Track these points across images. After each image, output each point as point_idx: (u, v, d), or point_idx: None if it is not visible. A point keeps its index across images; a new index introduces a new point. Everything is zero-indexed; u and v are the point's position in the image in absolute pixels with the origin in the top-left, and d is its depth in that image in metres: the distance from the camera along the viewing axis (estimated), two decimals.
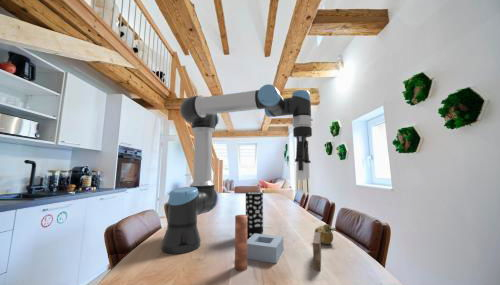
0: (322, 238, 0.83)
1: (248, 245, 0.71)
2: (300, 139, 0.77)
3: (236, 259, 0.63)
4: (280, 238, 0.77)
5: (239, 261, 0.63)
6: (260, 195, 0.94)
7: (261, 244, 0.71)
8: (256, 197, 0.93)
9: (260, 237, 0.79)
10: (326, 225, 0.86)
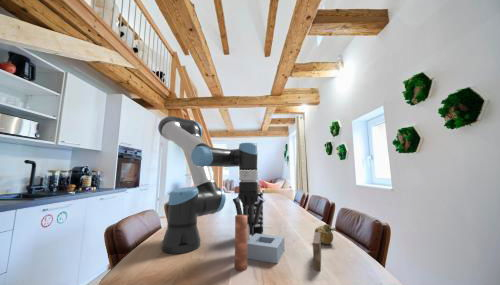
0: (322, 238, 0.83)
1: (249, 245, 0.71)
2: None
3: (236, 259, 0.63)
4: (281, 238, 0.77)
5: (239, 261, 0.63)
6: (260, 195, 0.94)
7: (262, 244, 0.71)
8: None
9: (261, 237, 0.79)
10: (326, 225, 0.86)
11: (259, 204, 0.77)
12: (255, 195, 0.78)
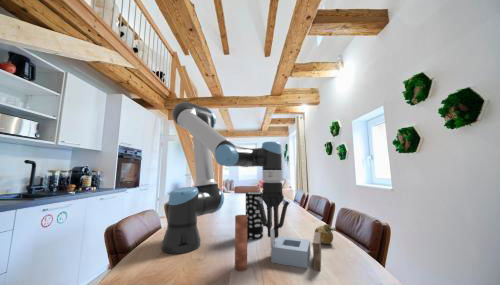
0: (322, 238, 0.83)
1: (276, 249, 0.68)
2: (258, 203, 0.78)
3: (236, 259, 0.63)
4: (307, 241, 0.74)
5: (239, 261, 0.63)
6: (260, 195, 0.94)
7: (290, 248, 0.68)
8: (256, 197, 0.93)
9: (286, 240, 0.76)
10: (326, 225, 0.86)
11: (285, 206, 0.73)
12: (280, 196, 0.74)
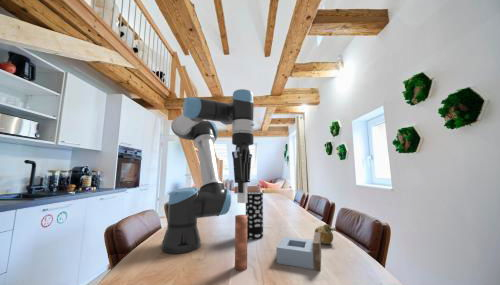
0: (322, 238, 0.83)
1: (281, 249, 0.67)
2: (236, 156, 0.64)
3: (236, 259, 0.63)
4: None
5: (239, 261, 0.63)
6: (260, 195, 0.94)
7: (296, 248, 0.67)
8: (256, 197, 0.93)
9: (291, 241, 0.75)
10: (326, 225, 0.86)
11: (250, 158, 0.74)
12: (248, 149, 0.73)
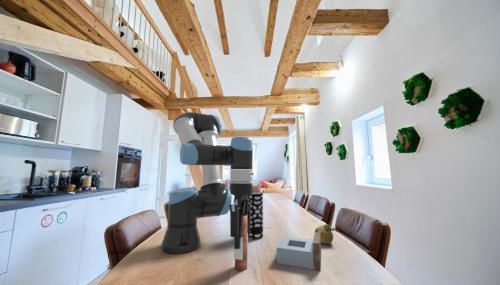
0: (322, 238, 0.83)
1: (281, 249, 0.67)
2: (233, 209, 0.61)
3: (236, 259, 0.63)
4: None
5: (239, 260, 0.63)
6: (260, 195, 0.94)
7: (296, 248, 0.67)
8: (256, 197, 0.93)
9: (291, 241, 0.75)
10: (326, 225, 0.86)
11: (250, 205, 0.72)
12: (247, 197, 0.70)
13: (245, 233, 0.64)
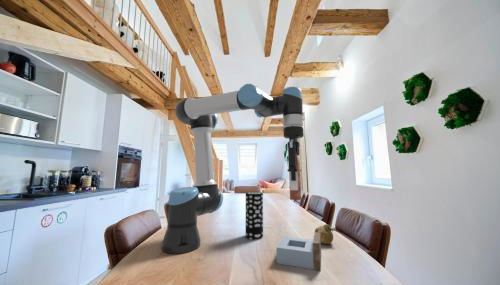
0: (322, 238, 0.83)
1: (281, 249, 0.67)
2: (291, 145, 0.70)
3: (292, 191, 0.73)
4: None
5: (295, 191, 0.72)
6: (260, 195, 0.94)
7: (296, 248, 0.67)
8: (256, 197, 0.93)
9: (291, 241, 0.75)
10: (326, 225, 0.86)
11: None
12: (297, 142, 0.79)
13: (299, 169, 0.74)
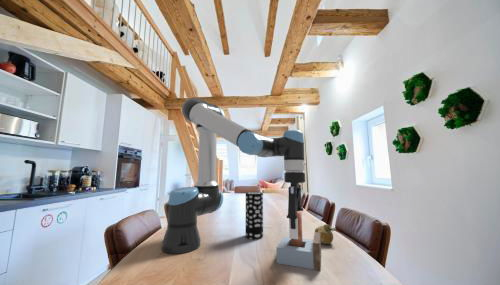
0: (322, 238, 0.83)
1: (281, 249, 0.67)
2: (292, 191, 0.68)
3: None
4: None
5: None
6: (260, 195, 0.94)
7: (296, 248, 0.67)
8: (256, 197, 0.93)
9: None
10: (326, 225, 0.86)
11: None
12: (298, 185, 0.77)
13: (301, 227, 0.71)
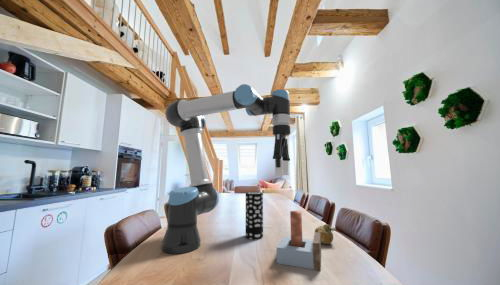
0: (322, 238, 0.83)
1: (281, 249, 0.67)
2: (278, 137, 0.79)
3: None
4: None
5: None
6: (260, 195, 0.94)
7: (296, 248, 0.67)
8: (256, 197, 0.93)
9: None
10: (326, 225, 0.86)
11: None
12: (285, 138, 0.88)
13: (301, 227, 0.71)
